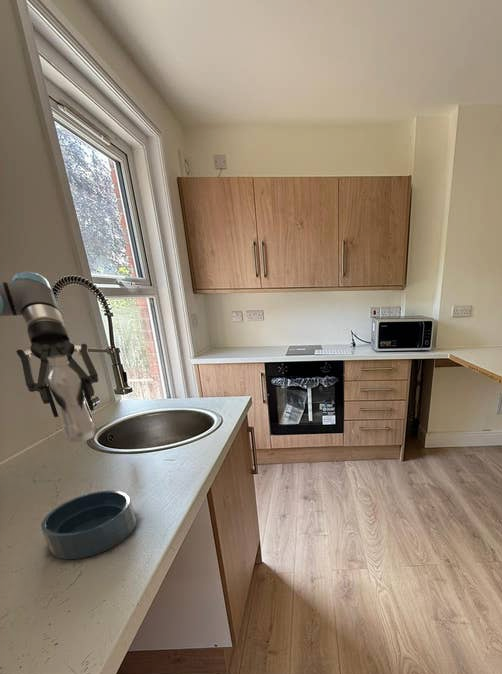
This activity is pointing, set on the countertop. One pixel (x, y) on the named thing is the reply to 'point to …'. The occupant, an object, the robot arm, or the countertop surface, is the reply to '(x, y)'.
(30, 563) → the countertop surface
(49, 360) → the plastic bottle
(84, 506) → the bowl
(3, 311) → the robot arm
